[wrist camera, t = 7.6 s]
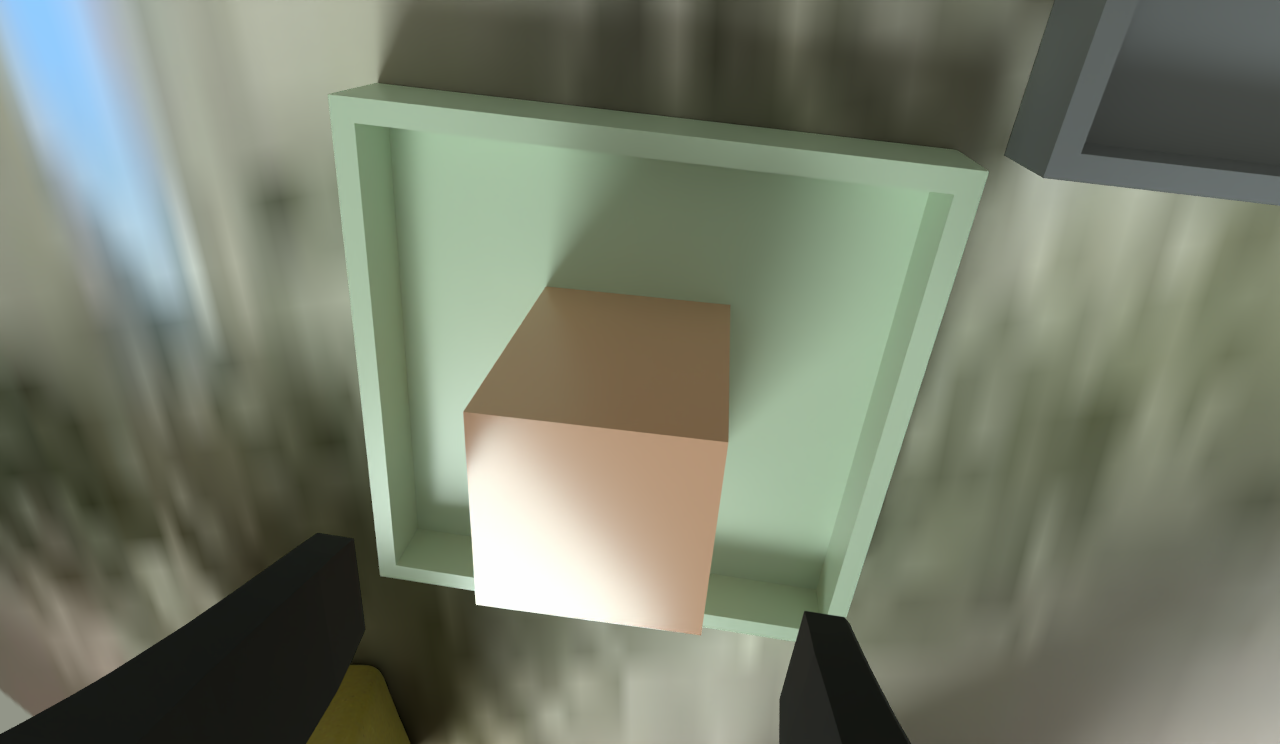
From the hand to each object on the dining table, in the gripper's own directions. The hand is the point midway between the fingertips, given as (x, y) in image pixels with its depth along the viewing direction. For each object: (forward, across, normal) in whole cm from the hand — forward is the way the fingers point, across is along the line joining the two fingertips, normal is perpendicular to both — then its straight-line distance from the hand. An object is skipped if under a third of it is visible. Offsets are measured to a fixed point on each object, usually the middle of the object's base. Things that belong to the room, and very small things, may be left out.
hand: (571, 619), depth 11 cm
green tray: (+8, 0, 0) cm, 9 cm away
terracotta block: (+8, 0, 0) cm, 8 cm away
